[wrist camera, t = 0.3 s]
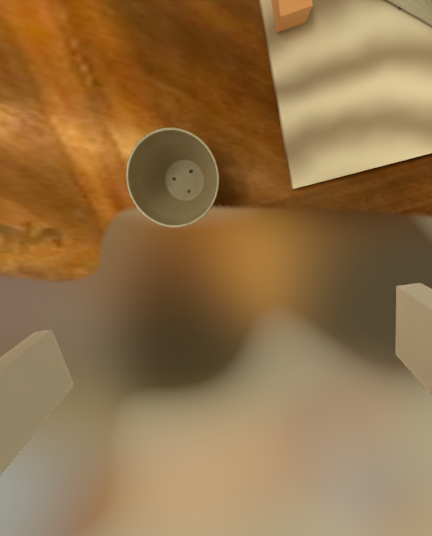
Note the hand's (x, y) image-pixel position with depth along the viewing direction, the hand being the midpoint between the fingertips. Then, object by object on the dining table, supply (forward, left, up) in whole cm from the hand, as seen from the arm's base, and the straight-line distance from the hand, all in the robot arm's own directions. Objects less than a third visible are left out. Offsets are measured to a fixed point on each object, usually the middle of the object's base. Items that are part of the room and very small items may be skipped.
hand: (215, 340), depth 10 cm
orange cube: (-20, +11, -27) cm, 35 cm away
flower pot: (-7, -5, -28) cm, 29 cm away
